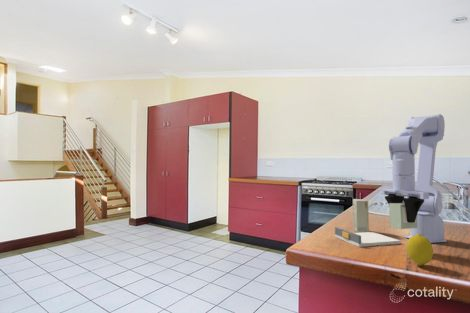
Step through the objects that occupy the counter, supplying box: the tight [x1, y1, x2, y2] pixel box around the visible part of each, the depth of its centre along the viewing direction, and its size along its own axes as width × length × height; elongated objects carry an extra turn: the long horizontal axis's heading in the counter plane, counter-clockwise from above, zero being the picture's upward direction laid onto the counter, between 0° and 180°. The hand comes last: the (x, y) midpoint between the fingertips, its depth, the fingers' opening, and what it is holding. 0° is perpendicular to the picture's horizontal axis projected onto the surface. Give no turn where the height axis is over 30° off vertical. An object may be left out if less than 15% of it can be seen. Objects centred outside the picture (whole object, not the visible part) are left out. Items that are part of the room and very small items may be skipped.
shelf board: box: [334, 226, 401, 248], centre depth 91 cm, size 16×12×3 cm
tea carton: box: [388, 202, 418, 230], centre depth 80 cm, size 4×6×7 cm
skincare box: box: [352, 198, 370, 233], centre depth 104 cm, size 6×4×12 cm
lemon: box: [406, 234, 434, 267], centre depth 68 cm, size 6×6×8 cm
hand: (403, 220), depth 80 cm, fingers closed on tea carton, 4 cm apart
